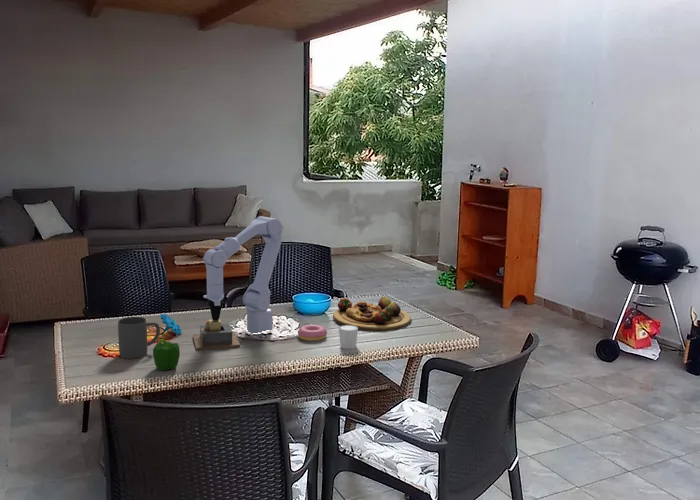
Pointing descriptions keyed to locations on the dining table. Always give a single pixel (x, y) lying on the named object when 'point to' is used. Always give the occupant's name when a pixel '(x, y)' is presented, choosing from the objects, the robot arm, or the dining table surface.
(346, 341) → the shot glass
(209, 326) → the keyed shaft
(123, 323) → the mug
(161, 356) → the bell pepper
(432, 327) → the dining table surface
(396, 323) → the wooden plate with food
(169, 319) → the gear
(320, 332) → the doughnut
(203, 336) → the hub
